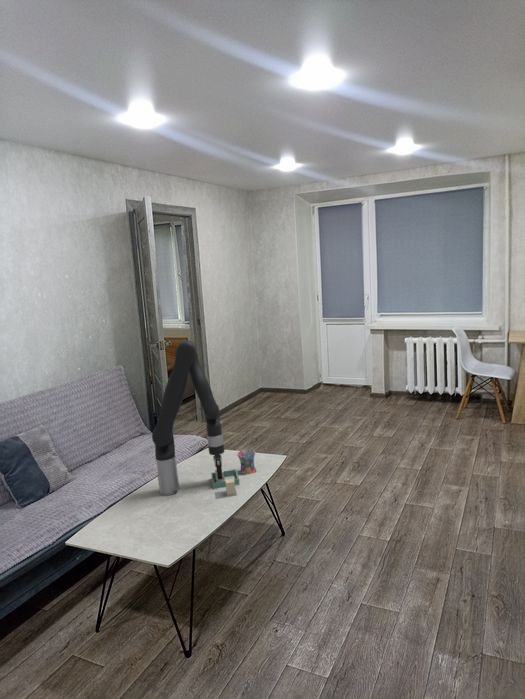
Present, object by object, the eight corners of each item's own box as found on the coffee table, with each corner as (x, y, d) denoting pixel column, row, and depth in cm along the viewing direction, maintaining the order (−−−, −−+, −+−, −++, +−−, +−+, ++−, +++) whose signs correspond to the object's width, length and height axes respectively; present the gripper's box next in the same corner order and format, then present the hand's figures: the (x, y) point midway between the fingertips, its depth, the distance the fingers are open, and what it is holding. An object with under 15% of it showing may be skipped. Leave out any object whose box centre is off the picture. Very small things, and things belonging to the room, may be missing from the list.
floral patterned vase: (253, 476, 252) (251, 456, 250) (236, 475, 255) (234, 455, 254) (261, 467, 263) (259, 448, 261) (245, 466, 266) (243, 447, 265)
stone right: (227, 495, 231) (225, 483, 230) (226, 492, 235) (225, 479, 234) (235, 494, 232) (234, 481, 231) (235, 490, 236) (233, 478, 235)
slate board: (215, 501, 229) (215, 499, 229) (214, 494, 236) (214, 492, 236) (237, 497, 231) (237, 495, 231) (236, 491, 238) (235, 489, 237)
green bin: (213, 490, 241) (212, 483, 240) (212, 480, 253) (211, 473, 252) (239, 486, 242) (238, 478, 242) (237, 476, 255) (236, 469, 254)
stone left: (216, 484, 245) (215, 473, 244) (216, 481, 249) (214, 470, 248) (224, 483, 246) (223, 472, 245) (224, 480, 250) (222, 468, 249)
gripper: (207, 439, 251) (211, 472, 253) (208, 449, 237) (212, 483, 239) (222, 437, 252) (226, 469, 254) (224, 447, 238) (228, 481, 240)
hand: (219, 476), depth 247 cm, fingers open, 5 cm apart
